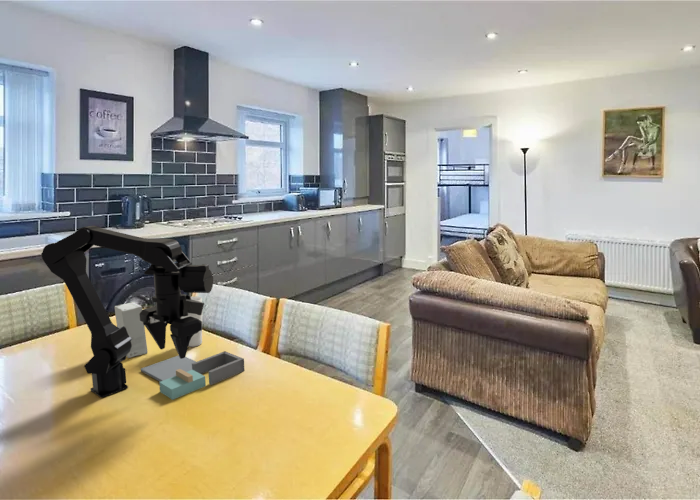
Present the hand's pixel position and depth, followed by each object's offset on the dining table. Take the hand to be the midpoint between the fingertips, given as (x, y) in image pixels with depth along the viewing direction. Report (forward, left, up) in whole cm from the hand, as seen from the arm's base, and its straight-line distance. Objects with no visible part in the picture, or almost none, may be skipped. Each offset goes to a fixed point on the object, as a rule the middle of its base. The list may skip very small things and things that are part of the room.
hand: (172, 353), depth 105 cm
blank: (+2, 0, -10) cm, 11 cm away
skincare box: (+5, +33, -10) cm, 35 cm away
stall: (+12, 0, -10) cm, 16 cm away
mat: (+6, +12, -10) cm, 17 cm away
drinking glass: (+20, +24, -10) cm, 33 cm away
